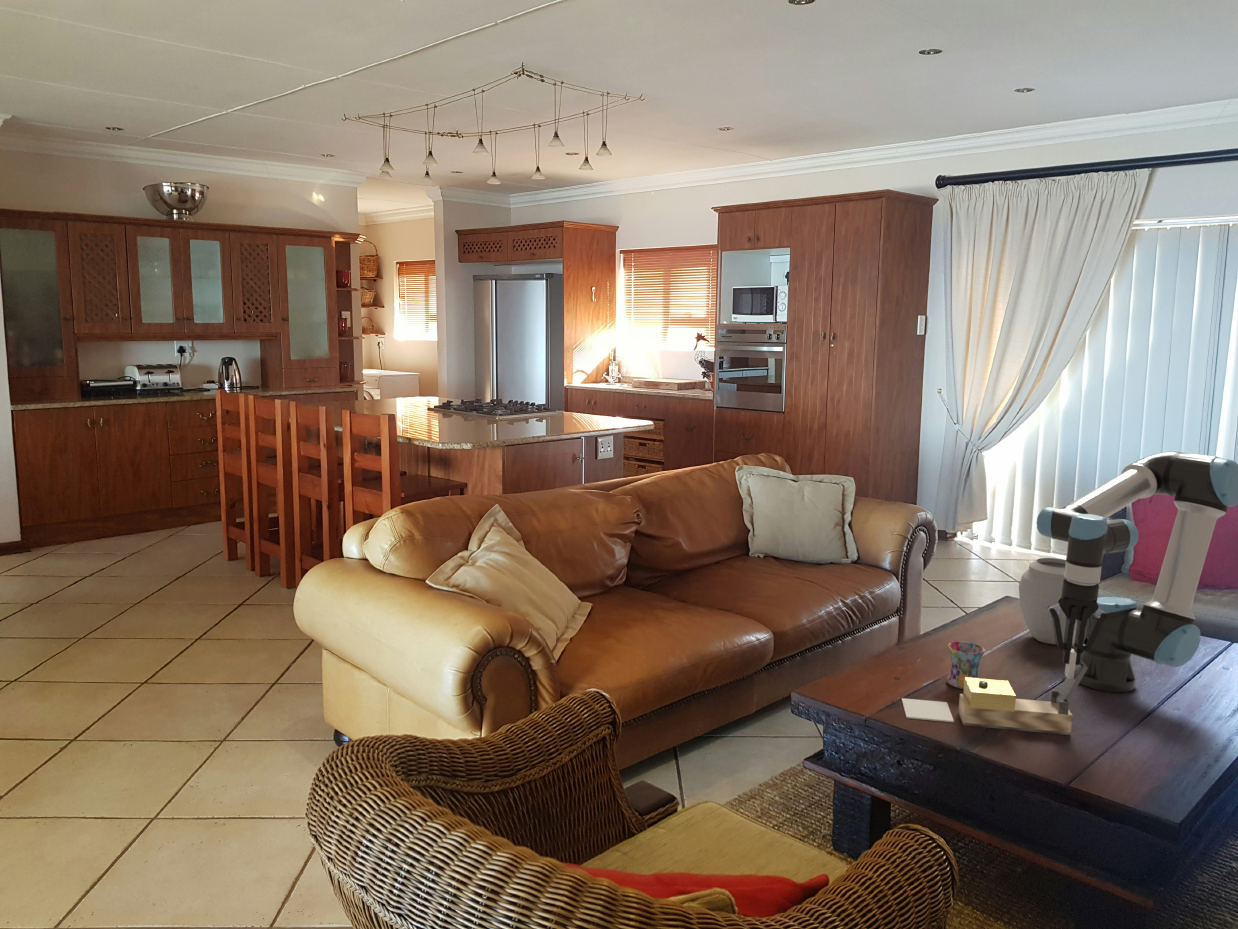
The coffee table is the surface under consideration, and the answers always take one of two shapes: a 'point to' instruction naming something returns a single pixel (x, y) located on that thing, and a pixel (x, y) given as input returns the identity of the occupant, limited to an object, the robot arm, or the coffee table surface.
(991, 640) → the coffee table surface
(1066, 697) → the lever
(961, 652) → the mug
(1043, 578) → the vase
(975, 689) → the yellow block with knob
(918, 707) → the felt pad
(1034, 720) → the body
